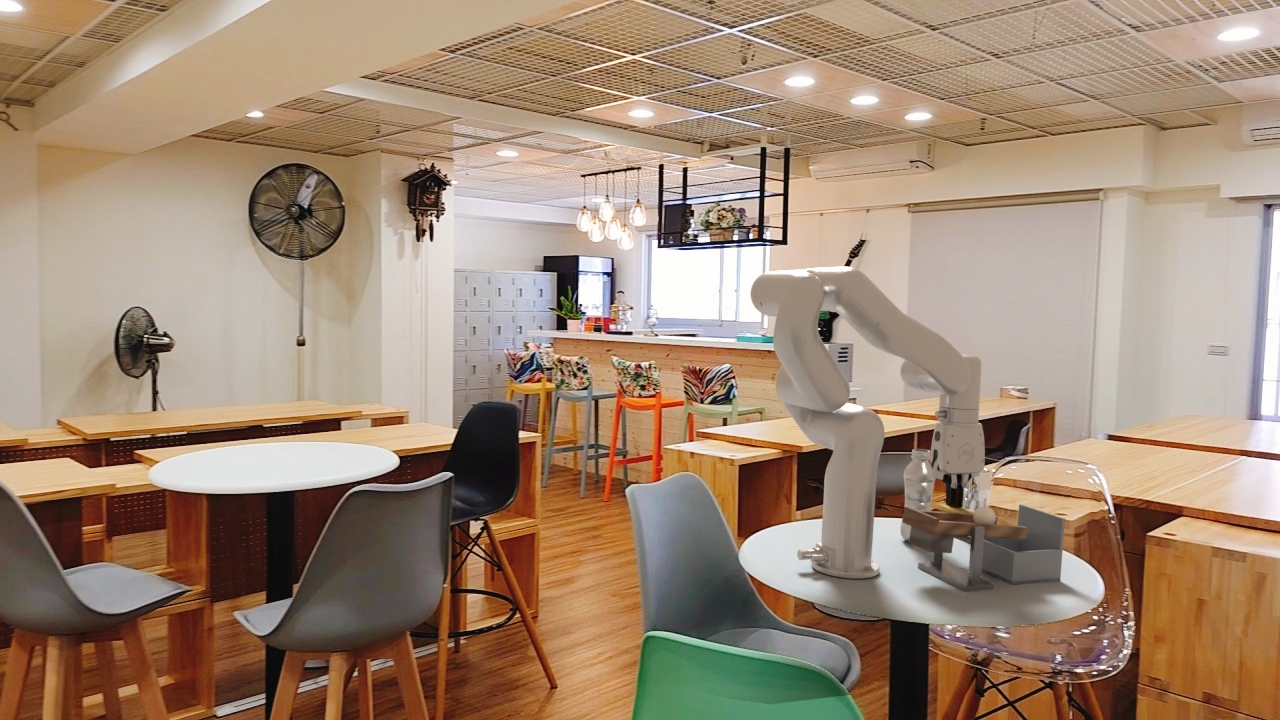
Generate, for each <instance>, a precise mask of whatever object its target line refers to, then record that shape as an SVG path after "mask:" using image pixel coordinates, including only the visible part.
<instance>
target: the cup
mask: <svg viewBox="0 0 1280 720" xmlns="http://www.w3.org/2000/svg"><path fill="white" fill-rule="evenodd" d="M1018 505H1019V506H1018V517H1017V519H1018V520H1017V526H1024V527H1027V528H1028V529H1027V536H1026V538H1022V539H1006V538H991V537H984V545H983V559H982V572H983V573H984V574H986V575H987V574H988V575H990V576H992V577H994V578H996V579H998V580H1000V581H1002V582H1005V583H1008V584H1010V585H1025V584H1026V585H1027V584H1037V583H1038V584H1039V583H1050V582H1051V583H1052V582H1061V576H1062V574H1061V573H1062V561H1063V550H1064V539H1065V538H1064V535H1065V534H1064V533H1065V522H1066V518H1064V517H1062V516H1059V515H1056V514H1052V513H1048V512H1046V511H1043V510H1040V509H1037V508H1034V507H1031V506H1027V505H1025V504H1018Z"/></svg>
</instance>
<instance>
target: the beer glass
mask: <svg viewBox="0 0 1280 720" xmlns="http://www.w3.org/2000/svg"><path fill="white" fill-rule="evenodd" d="M991 493H992V471H991V470H989V469H987V468H984V469H983V471H981V472H980V474H979V476H977V477H974V478H971V479H970V480H969V481H968V483H967V486H966V488H964V494H963V508H966V509H969V510H971V511H974V512H975V510H976V509H977V508H979V507H983V506H984V507H989V504H990V500H991V495H992V494H991ZM968 537H970V538H971V536H968Z"/></svg>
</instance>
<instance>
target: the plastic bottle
mask: <svg viewBox="0 0 1280 720" xmlns="http://www.w3.org/2000/svg"><path fill="white" fill-rule="evenodd" d="M910 457H911V459H912V460H911V461H910V462H909V463H908V465H906V467H905V469H904V471H903V484H904V485H903V486H904V497H905V498H904V507H911V508H913V509H916V510H922V511H932V507H930V501H931V502H932V500H933V491H934V488H935V482H936V478H934V477H932V476H931V475H932V471H933V469H932V468H931V464H930V457H931V450H930V449H929V450H928V449H922V448H914V449H912V451H911V455H910ZM902 520H903V518H902V519H901V523H900V528H899V529H900V535H901V537H902V539H903V540H905V541H907V542H909V538H910V531H911V526H910V525H908V524H905V523H903V522H902Z"/></svg>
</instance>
